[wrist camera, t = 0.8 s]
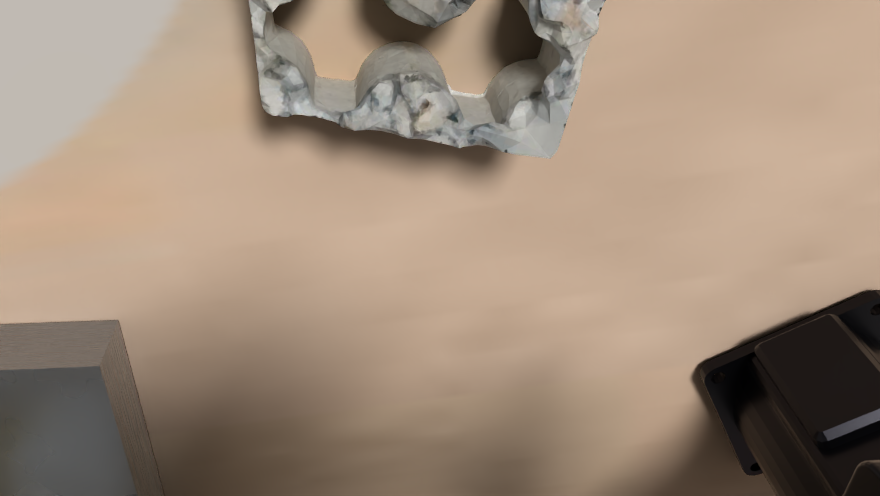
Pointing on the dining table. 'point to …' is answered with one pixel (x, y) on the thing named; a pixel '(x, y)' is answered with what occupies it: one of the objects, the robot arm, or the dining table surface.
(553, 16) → the egg carton
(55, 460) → the grey flat block
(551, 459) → the dining table surface
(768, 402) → the robot arm
